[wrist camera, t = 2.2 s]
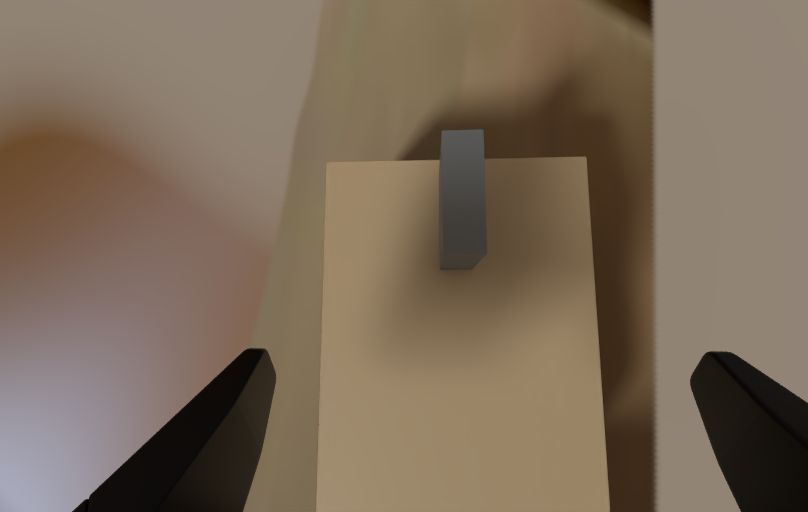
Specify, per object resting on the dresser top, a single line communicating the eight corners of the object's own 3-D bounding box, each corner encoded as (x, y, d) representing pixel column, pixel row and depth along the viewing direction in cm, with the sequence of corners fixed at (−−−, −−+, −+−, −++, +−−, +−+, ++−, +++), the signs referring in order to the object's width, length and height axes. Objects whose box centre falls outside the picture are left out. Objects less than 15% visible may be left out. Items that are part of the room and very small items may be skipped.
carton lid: (605, 550, 14) (690, 664, 9) (319, 540, 15) (270, 641, 10) (580, 162, 16) (640, 101, 11) (330, 168, 17) (293, 112, 12)
